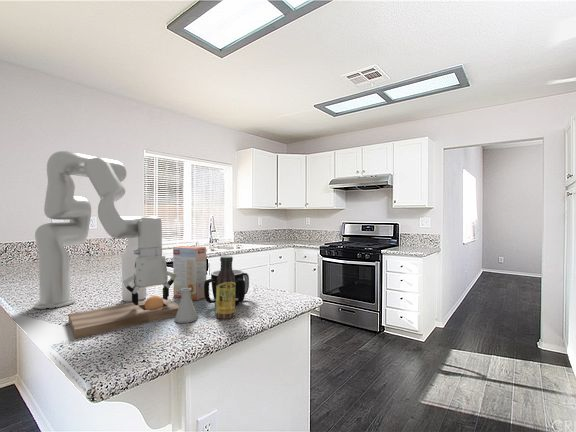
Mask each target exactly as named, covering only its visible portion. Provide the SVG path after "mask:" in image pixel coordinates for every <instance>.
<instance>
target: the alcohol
mask: <svg viewBox="0 0 576 432" xmlns="http://www.w3.org/2000/svg"><path fill="white" fill-rule="evenodd" d="M137 249H138V237H135V238H127V246H126V249H124V251H123V252H122V255H121V295H122V297H121V298H122V301H124V302H125V303H132V292H130V291H129V290H128V289H126V287H125V286H124V284H123V281H124V280H125V279H127V278H129V277H130V276H132V275H134V268H135V261H136V257H138V255H137V254H134V250H137ZM129 285H130V287H132V288H133V286H134V285H135V284H134V280H132V281H131V282H129ZM137 293H138V302H139V301H144V300H145V299H146V297H147V287H140V288H139V290H138V291H137Z"/></svg>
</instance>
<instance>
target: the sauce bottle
mask: <svg viewBox="0 0 576 432" xmlns="http://www.w3.org/2000/svg"><path fill="white" fill-rule="evenodd" d="M219 258H220V259H219V261H220V272H219V274H218V276H217V285H216V303H215V316H216V318H217V319H221V320H228V319H230V318H234V316H235V312H236V305H235V275H234V273H233V271H232V270H233V260H234V257H233V256H231V255H230V256H229V255H224V256H220V257H219Z"/></svg>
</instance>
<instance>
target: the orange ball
mask: <svg viewBox="0 0 576 432" xmlns="http://www.w3.org/2000/svg"><path fill="white" fill-rule="evenodd" d="M163 305H164V303H163V300H162V297H161V296H158V295H151V296H149V297H148V298H147V299H146V302H145V309H146V310H149V309H154V308H159V307H163Z"/></svg>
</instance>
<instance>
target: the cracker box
mask: <svg viewBox="0 0 576 432" xmlns="http://www.w3.org/2000/svg"><path fill="white" fill-rule="evenodd" d="M172 251H173V252H172V255H173V256H172V261H173V262H172V265H173V266H172V268H173V274H176V278H175V280H174V282H173V297H175V298H180V299H181V296H182V293H181V291H180V290H181V289H183V288H191V291H190V295H191V300H192V301H199V300H203V299H205V296H204V283H205V281H206V280H207V247H206V246H192V245H190V246H189V245H181V246H173V247H172Z"/></svg>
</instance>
